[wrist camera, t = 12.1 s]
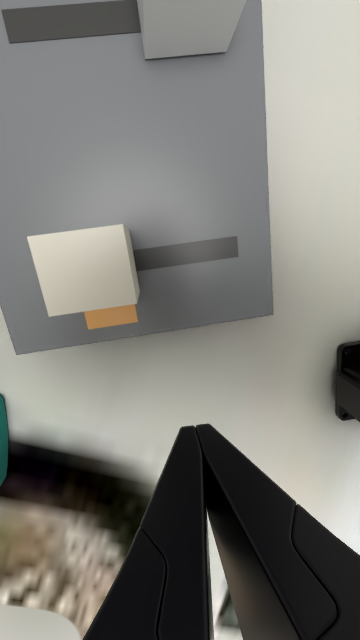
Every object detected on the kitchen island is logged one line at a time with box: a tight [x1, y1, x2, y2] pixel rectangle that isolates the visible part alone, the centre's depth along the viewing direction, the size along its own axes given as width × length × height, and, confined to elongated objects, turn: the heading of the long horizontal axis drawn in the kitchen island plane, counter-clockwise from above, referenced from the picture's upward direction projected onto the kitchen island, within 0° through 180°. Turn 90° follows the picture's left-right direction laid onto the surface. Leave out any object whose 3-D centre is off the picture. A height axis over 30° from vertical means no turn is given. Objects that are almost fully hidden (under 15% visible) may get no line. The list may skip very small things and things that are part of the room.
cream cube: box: [27, 224, 140, 317], centre depth 14 cm, size 4×4×4 cm
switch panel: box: [0, 0, 273, 355], centre depth 15 cm, size 16×20×2 cm
